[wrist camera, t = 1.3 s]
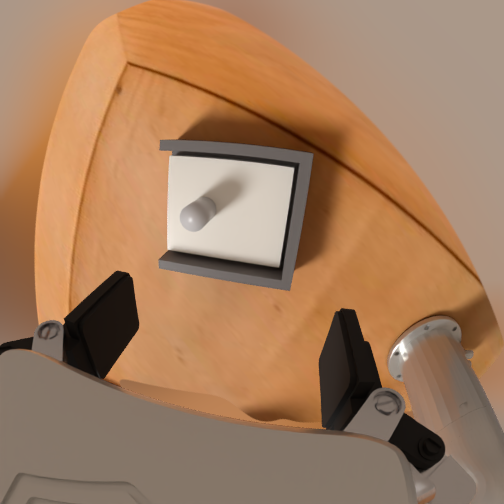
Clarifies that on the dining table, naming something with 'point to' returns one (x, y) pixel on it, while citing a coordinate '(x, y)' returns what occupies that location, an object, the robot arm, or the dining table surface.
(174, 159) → the cover plate
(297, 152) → the dark box
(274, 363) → the dining table surface
